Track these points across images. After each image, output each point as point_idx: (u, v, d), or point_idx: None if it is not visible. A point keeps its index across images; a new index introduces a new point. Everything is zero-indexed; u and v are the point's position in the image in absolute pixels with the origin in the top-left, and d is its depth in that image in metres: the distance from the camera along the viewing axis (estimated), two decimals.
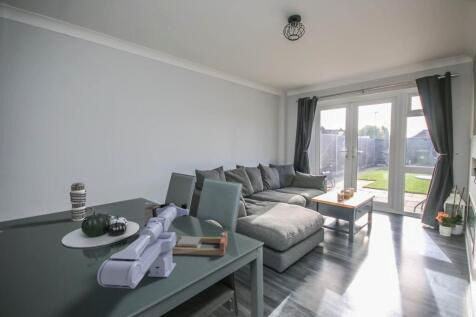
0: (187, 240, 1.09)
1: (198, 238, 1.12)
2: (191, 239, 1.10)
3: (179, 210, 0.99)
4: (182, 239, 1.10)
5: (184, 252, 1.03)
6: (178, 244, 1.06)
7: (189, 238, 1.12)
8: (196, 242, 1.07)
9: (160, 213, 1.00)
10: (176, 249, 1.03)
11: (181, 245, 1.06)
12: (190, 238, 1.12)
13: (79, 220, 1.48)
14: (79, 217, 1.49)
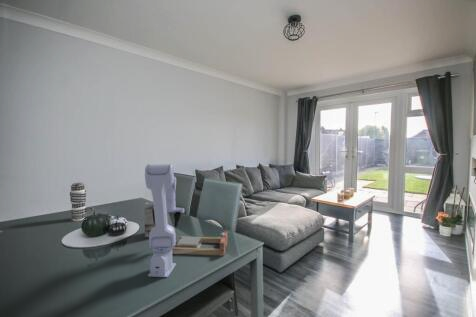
0: (187, 240, 1.09)
1: (198, 238, 1.12)
2: (191, 239, 1.10)
3: (177, 209, 1.10)
4: (182, 239, 1.11)
5: (184, 252, 1.03)
6: (178, 244, 1.06)
7: (189, 238, 1.12)
8: (196, 242, 1.07)
9: None
10: (176, 249, 1.03)
11: (181, 245, 1.06)
12: (190, 238, 1.12)
13: (79, 220, 1.48)
14: (79, 217, 1.49)
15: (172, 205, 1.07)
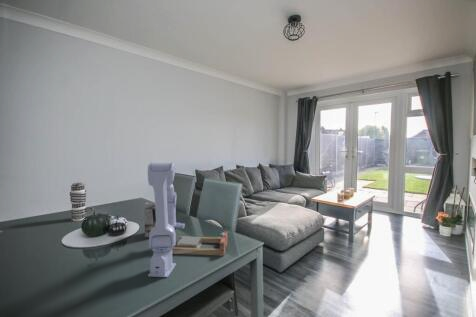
0: (187, 240, 1.09)
1: (198, 238, 1.11)
2: (191, 239, 1.10)
3: (177, 224, 1.10)
4: (182, 239, 1.11)
5: (184, 252, 1.03)
6: (178, 244, 1.06)
7: (189, 238, 1.12)
8: (196, 242, 1.07)
9: None
10: (176, 249, 1.03)
11: (181, 245, 1.06)
12: (190, 238, 1.12)
13: (79, 220, 1.48)
14: (79, 217, 1.49)
15: (172, 221, 1.08)
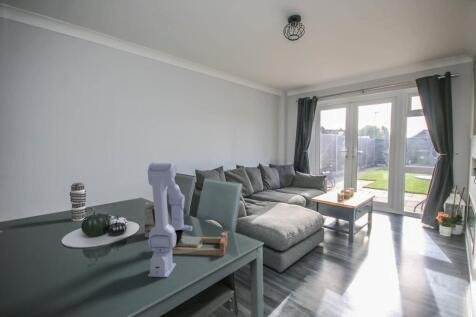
0: (188, 240, 1.09)
1: (199, 238, 1.11)
2: (192, 239, 1.10)
3: None
4: (183, 239, 1.11)
5: (184, 252, 1.03)
6: (179, 244, 1.06)
7: (190, 238, 1.12)
8: (196, 242, 1.07)
9: None
10: (176, 249, 1.03)
11: (181, 245, 1.06)
12: (191, 238, 1.12)
13: (79, 220, 1.48)
14: (79, 217, 1.49)
15: (180, 223, 1.08)
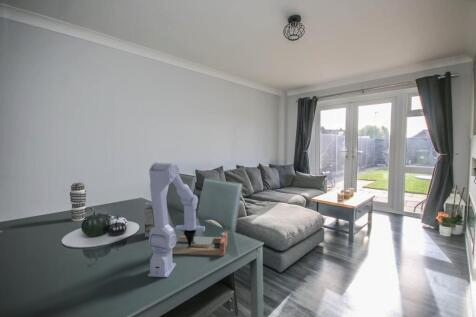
0: (200, 240, 1.09)
1: (211, 238, 1.11)
2: (204, 239, 1.10)
3: (197, 227, 1.10)
4: (195, 239, 1.10)
5: (184, 252, 1.03)
6: (192, 244, 1.06)
7: (202, 238, 1.11)
8: (210, 242, 1.07)
9: None
10: (176, 249, 1.03)
11: (195, 245, 1.05)
12: (203, 238, 1.11)
13: (79, 220, 1.48)
14: (79, 217, 1.49)
15: (193, 224, 1.07)
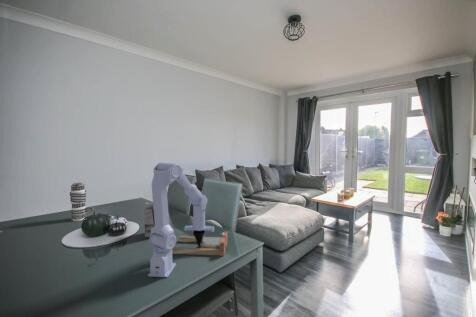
0: (209, 240, 1.08)
1: (220, 238, 1.11)
2: (213, 240, 1.09)
3: (206, 227, 1.09)
4: (204, 240, 1.09)
5: (184, 252, 1.03)
6: (201, 245, 1.05)
7: (211, 239, 1.11)
8: (219, 243, 1.06)
9: None
10: (176, 249, 1.03)
11: (204, 246, 1.05)
12: (212, 239, 1.11)
13: (79, 220, 1.48)
14: (79, 217, 1.49)
15: (202, 224, 1.07)
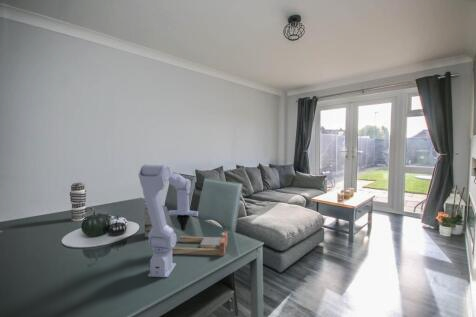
0: (209, 241, 1.09)
1: (220, 239, 1.11)
2: (213, 240, 1.09)
3: (190, 212, 1.08)
4: (204, 240, 1.10)
5: (184, 252, 1.03)
6: (201, 245, 1.05)
7: (211, 239, 1.11)
8: (219, 243, 1.06)
9: (171, 212, 1.08)
10: (176, 249, 1.03)
11: (204, 246, 1.05)
12: (212, 239, 1.11)
13: (79, 220, 1.48)
14: (79, 217, 1.49)
15: (186, 208, 1.06)
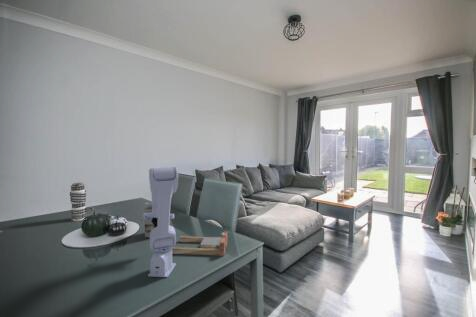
0: (209, 241, 1.08)
1: (220, 239, 1.11)
2: (213, 240, 1.09)
3: None
4: (204, 240, 1.10)
5: (184, 252, 1.03)
6: (201, 245, 1.05)
7: (211, 239, 1.11)
8: (219, 243, 1.06)
9: (146, 215, 1.03)
10: (176, 249, 1.03)
11: (204, 246, 1.05)
12: (212, 239, 1.11)
13: (79, 220, 1.48)
14: (79, 217, 1.49)
15: None
